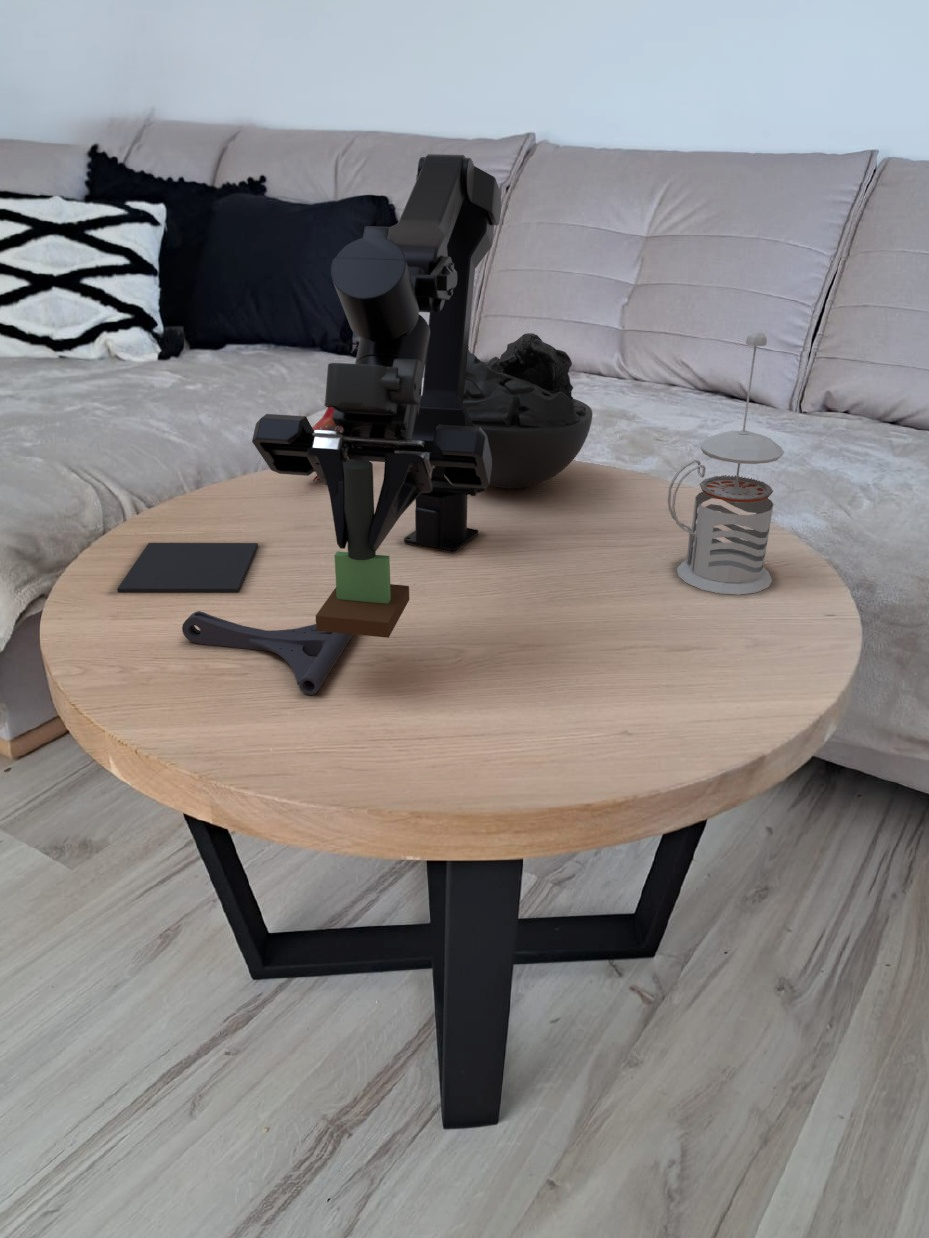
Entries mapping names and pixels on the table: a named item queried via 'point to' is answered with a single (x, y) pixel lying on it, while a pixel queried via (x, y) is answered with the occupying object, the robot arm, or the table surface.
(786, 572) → the table surface
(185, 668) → the table surface
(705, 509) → the french press
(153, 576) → the mat
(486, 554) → the table surface
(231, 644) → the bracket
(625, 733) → the table surface
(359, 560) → the rubber stamp
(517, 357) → the bowl of black rocks
